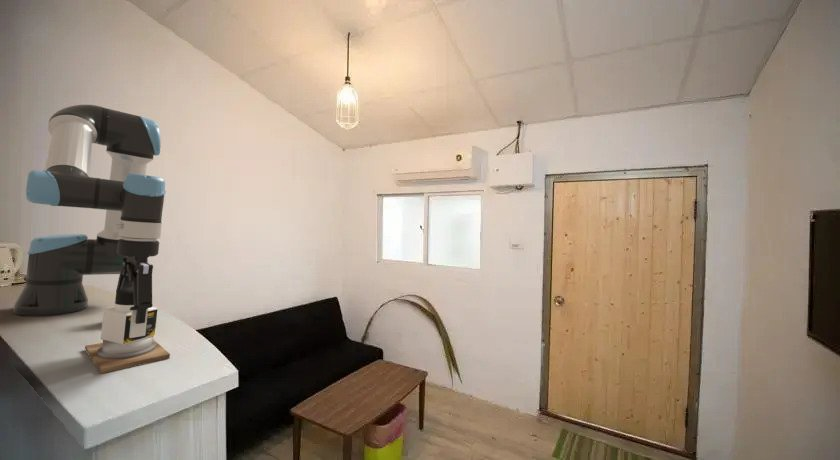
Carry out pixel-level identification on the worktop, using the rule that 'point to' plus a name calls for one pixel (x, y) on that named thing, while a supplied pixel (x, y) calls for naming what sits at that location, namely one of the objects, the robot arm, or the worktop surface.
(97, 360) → the stub board
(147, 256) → the robot arm
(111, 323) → the medicine bottle
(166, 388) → the worktop surface
